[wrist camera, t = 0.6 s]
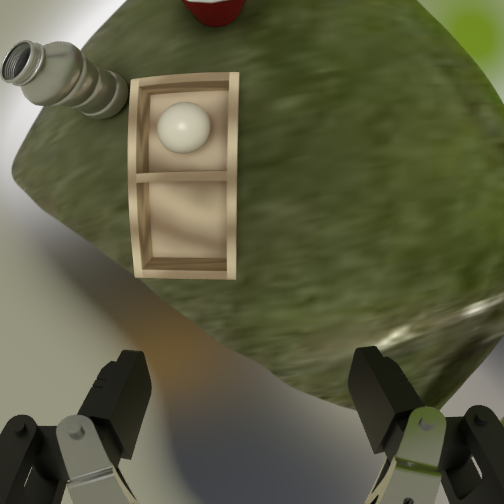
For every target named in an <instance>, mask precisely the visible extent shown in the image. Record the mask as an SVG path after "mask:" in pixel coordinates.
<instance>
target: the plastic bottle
mask: <svg viewBox="0 0 504 504" xmlns="http://www.w3.org/2000/svg"><path fill="white" fill-rule="evenodd" d="M0 73H1V78H2V80H3V81H5V82H7V83H12V84H13V85H16V86H21V89H22V91H23V94H24V96H25V97H26V98H27V99H28V100H29V101H30V102H32V103H33V104H35V105H40V106H66V107H71V108H74V109H76V110H79V111H81V112H82V113H83V114H84V115H86V116H88V117H90V118H92V119H106V118H110V117H112V116H114V115H115V114H117V113H118V112H119V111H120V110H121V109H122V108H123V106H124V105H125V103H126V101H127V98H128V86H127V83H126V82H125V80H124V79H123V77H122V76H121V75H119V74H118V73H115V72H113V71H109V70H104V69H102V68H99V67H97V66H96V65H94V64H93V63H92V62H90V61H89V60H88V59H87V58H86V57H85V56H84V55H83V53H82V52H81V51H80V50H79V49H78V48H77V47H75V46H74V45H73V44H71V43H69V42H52V43H49V44H46V45H44V46H42V45H41V44H38V43H33V42H31V41H27V40H23V41H20V42H18V43H17V44H15V45H14V46H13V47H12V48H11V49H10V50H9V52H8V53H7V54H6V56H5V58H4V60H3V63H2V66H1V72H0Z"/></svg>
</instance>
